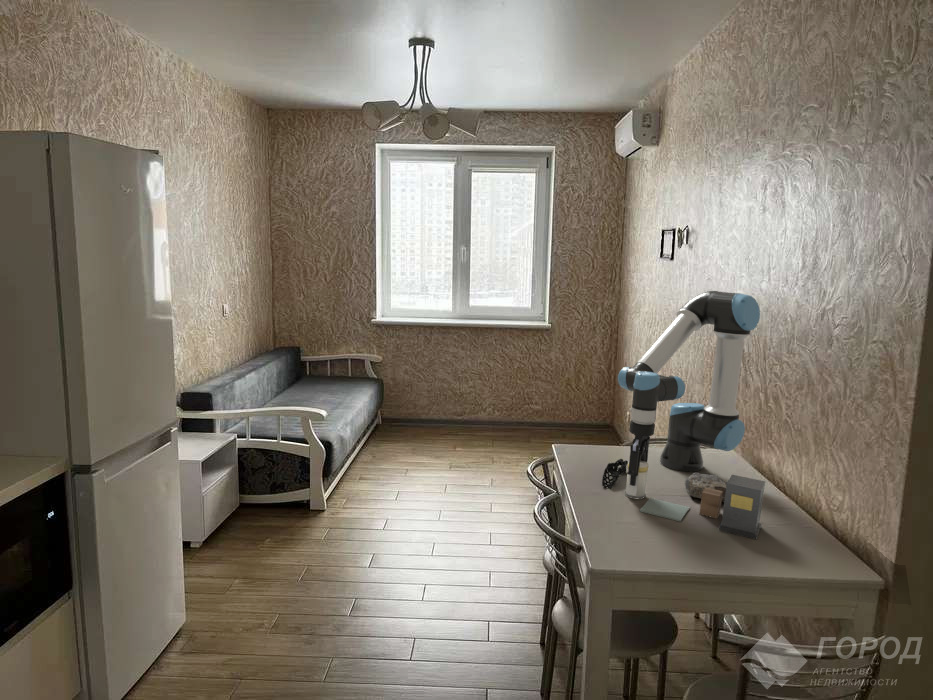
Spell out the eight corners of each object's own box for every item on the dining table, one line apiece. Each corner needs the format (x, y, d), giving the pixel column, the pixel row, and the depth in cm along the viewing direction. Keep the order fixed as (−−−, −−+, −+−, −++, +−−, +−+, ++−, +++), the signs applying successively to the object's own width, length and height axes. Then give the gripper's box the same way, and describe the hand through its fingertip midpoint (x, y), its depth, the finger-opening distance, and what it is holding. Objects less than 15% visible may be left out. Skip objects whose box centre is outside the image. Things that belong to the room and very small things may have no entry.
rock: (682, 486, 226) (690, 504, 211) (684, 468, 225) (692, 485, 210) (721, 489, 224) (732, 508, 210) (723, 471, 223) (734, 488, 208)
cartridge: (628, 490, 219) (631, 458, 217) (647, 494, 216) (650, 462, 214) (622, 496, 213) (625, 463, 211) (641, 500, 210) (645, 467, 208)
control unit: (725, 517, 201) (730, 473, 198) (761, 526, 196) (767, 480, 193) (718, 529, 192) (724, 483, 189) (756, 539, 187) (762, 491, 184)
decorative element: (614, 491, 218) (616, 474, 217) (599, 487, 220) (600, 470, 219) (628, 471, 238) (630, 455, 237) (614, 468, 240) (616, 452, 239)
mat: (650, 499, 212) (650, 497, 212) (689, 508, 206) (689, 507, 206) (639, 511, 202) (639, 509, 202) (680, 521, 196) (680, 520, 196)
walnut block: (702, 509, 207) (705, 487, 205) (719, 513, 204) (722, 491, 203) (699, 514, 202) (702, 492, 201) (716, 518, 200) (719, 496, 199)
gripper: (639, 413, 220) (632, 480, 224) (621, 425, 204) (614, 497, 208) (662, 417, 217) (654, 485, 220) (646, 430, 200) (638, 503, 204)
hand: (635, 491), depth 214 cm, fingers closed on cartridge, 6 cm apart
